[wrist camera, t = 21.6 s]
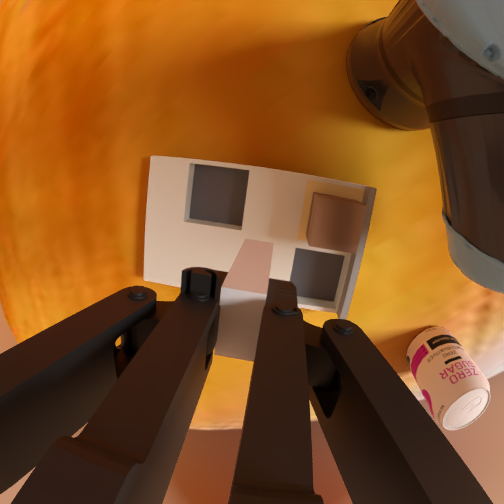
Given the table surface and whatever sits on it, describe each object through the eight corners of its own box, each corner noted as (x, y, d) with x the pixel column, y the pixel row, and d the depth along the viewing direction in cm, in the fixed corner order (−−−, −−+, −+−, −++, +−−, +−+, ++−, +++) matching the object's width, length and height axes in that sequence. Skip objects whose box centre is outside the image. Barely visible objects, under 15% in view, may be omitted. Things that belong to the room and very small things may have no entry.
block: (305, 234, 36) (308, 246, 31) (313, 191, 35) (317, 196, 30) (347, 241, 36) (356, 254, 31) (355, 199, 34) (366, 206, 30)
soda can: (418, 376, 43) (449, 441, 29) (395, 348, 42) (428, 416, 28) (457, 345, 41) (499, 403, 27) (438, 314, 40) (485, 372, 26)
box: (150, 273, 42) (137, 285, 38) (158, 155, 38) (144, 155, 33) (339, 305, 41) (345, 321, 37) (366, 185, 36) (376, 188, 32)
